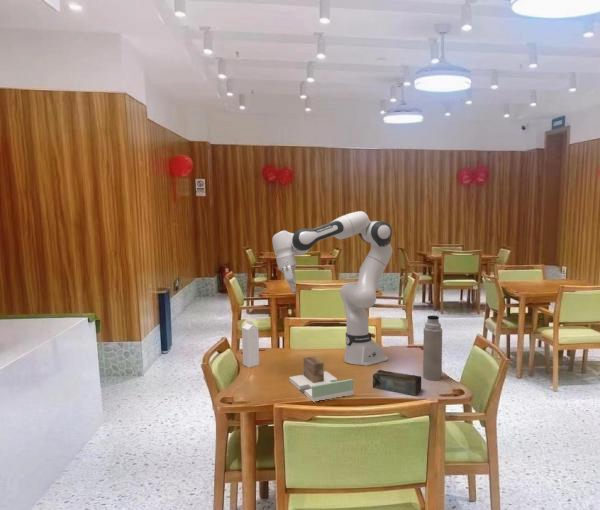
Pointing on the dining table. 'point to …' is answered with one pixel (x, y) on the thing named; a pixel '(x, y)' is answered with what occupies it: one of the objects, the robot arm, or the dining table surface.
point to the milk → (250, 344)
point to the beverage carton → (397, 382)
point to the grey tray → (323, 387)
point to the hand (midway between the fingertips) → (294, 292)
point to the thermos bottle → (432, 349)
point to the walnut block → (313, 369)
